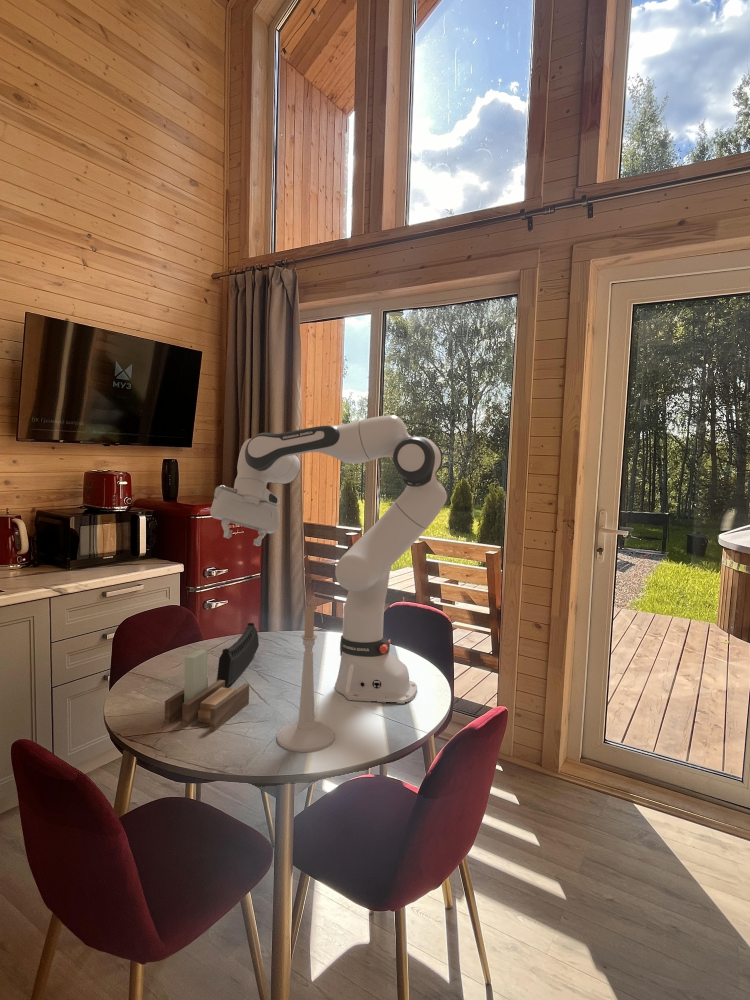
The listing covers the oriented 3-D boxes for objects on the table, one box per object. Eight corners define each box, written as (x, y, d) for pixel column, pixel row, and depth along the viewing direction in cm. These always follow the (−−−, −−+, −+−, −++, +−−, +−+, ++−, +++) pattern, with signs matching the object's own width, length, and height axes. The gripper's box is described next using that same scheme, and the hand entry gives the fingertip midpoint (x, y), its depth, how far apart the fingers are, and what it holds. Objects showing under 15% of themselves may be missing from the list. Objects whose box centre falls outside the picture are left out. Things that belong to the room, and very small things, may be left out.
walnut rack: (248, 703, 144) (249, 684, 144) (214, 730, 129) (215, 709, 129) (203, 696, 148) (203, 677, 148) (164, 722, 132) (165, 701, 132)
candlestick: (273, 727, 132) (277, 598, 130) (328, 722, 135) (332, 597, 134) (280, 754, 120) (284, 612, 118) (340, 748, 123) (344, 610, 121)
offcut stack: (235, 706, 143) (235, 689, 142) (213, 725, 132) (214, 706, 132) (220, 704, 144) (221, 687, 143) (197, 723, 133) (198, 704, 133)
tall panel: (206, 706, 142) (207, 650, 141) (192, 716, 136) (193, 658, 135) (198, 704, 143) (199, 649, 142) (183, 714, 137) (184, 656, 136)
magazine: (225, 661, 149) (256, 602, 177) (213, 660, 149) (246, 601, 177) (230, 714, 155) (259, 649, 183) (218, 713, 155) (249, 648, 183)
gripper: (222, 480, 152) (214, 530, 147) (285, 501, 165) (279, 548, 161) (210, 485, 156) (202, 534, 152) (272, 505, 170) (266, 550, 165)
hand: (242, 541), depth 156 cm, fingers open, 8 cm apart
